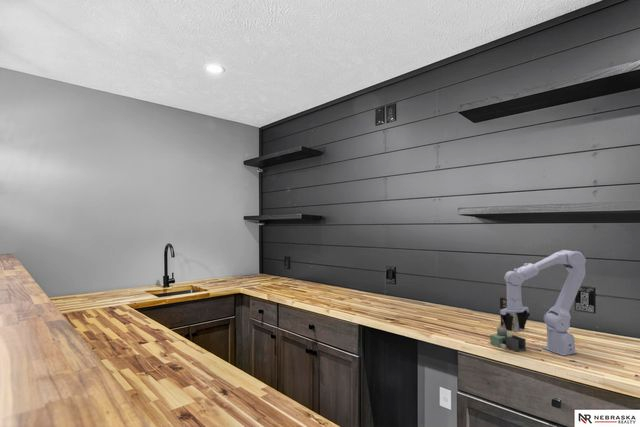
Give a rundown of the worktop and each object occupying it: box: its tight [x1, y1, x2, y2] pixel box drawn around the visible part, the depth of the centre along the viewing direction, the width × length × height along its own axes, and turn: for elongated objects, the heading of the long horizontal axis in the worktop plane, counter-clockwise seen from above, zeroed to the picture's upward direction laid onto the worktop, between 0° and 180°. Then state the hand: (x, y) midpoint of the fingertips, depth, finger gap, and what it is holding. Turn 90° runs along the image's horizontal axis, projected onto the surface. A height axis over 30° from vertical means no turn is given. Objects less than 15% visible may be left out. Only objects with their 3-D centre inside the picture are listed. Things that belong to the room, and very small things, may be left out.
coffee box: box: [499, 296, 525, 333], centre depth 180 cm, size 9×6×16 cm
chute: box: [505, 334, 527, 353], centre depth 151 cm, size 6×5×5 cm
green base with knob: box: [489, 326, 514, 350], centre depth 156 cm, size 8×10×7 cm
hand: (515, 329), depth 151 cm, fingers open, 7 cm apart
